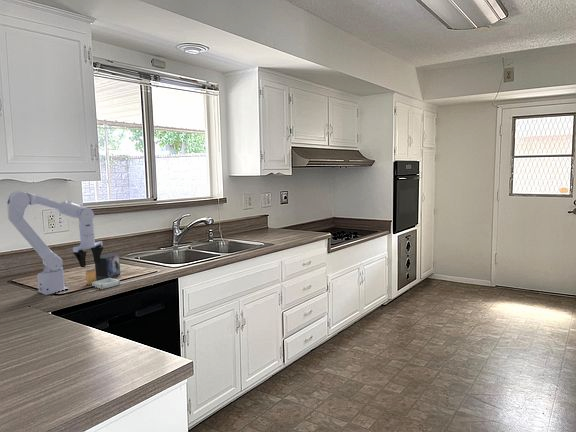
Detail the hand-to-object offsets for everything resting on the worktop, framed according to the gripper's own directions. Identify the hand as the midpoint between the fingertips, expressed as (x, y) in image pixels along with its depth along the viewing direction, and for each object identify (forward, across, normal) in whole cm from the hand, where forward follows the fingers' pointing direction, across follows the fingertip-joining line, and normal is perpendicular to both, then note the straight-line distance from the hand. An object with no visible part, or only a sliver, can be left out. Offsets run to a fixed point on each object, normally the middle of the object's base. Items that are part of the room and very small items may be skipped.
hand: (90, 264), depth 192 cm
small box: (+9, -10, -1) cm, 14 cm away
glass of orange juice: (+8, 0, 0) cm, 9 cm away
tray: (+8, 0, +9) cm, 12 cm away
